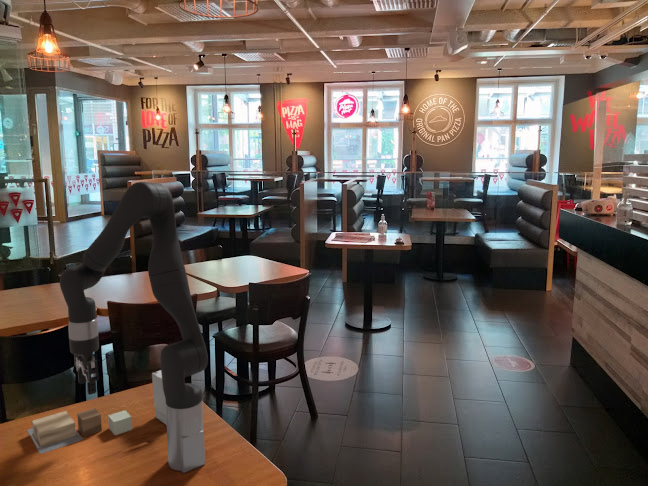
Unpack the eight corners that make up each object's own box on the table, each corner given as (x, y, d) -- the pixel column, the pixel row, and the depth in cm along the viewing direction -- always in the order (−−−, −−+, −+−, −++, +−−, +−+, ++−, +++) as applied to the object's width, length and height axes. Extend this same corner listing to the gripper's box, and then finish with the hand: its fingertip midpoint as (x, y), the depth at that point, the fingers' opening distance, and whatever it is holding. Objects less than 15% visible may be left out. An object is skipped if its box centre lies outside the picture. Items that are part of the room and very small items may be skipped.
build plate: (83, 442, 145) (83, 439, 144) (40, 456, 137) (40, 453, 137) (67, 419, 156) (67, 417, 156) (26, 432, 149) (26, 429, 149)
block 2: (132, 432, 150) (131, 416, 149) (115, 438, 147) (114, 422, 146) (126, 425, 154) (125, 410, 153) (109, 431, 151) (108, 415, 150)
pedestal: (75, 435, 146) (74, 422, 146) (40, 447, 141) (39, 433, 140) (66, 423, 153) (66, 410, 152) (33, 433, 147) (32, 420, 147)
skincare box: (184, 420, 157) (182, 374, 155) (166, 427, 153) (164, 380, 150) (171, 410, 163) (169, 366, 160) (153, 416, 159) (151, 371, 156)
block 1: (102, 433, 149) (100, 414, 148) (83, 439, 146) (82, 420, 145) (96, 426, 153) (95, 407, 152) (78, 432, 150) (77, 413, 149)
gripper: (105, 338, 142) (109, 393, 145) (89, 325, 152) (93, 376, 155) (77, 345, 137) (81, 401, 140) (62, 330, 147) (66, 383, 150)
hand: (87, 388), depth 147 cm, fingers open, 8 cm apart
